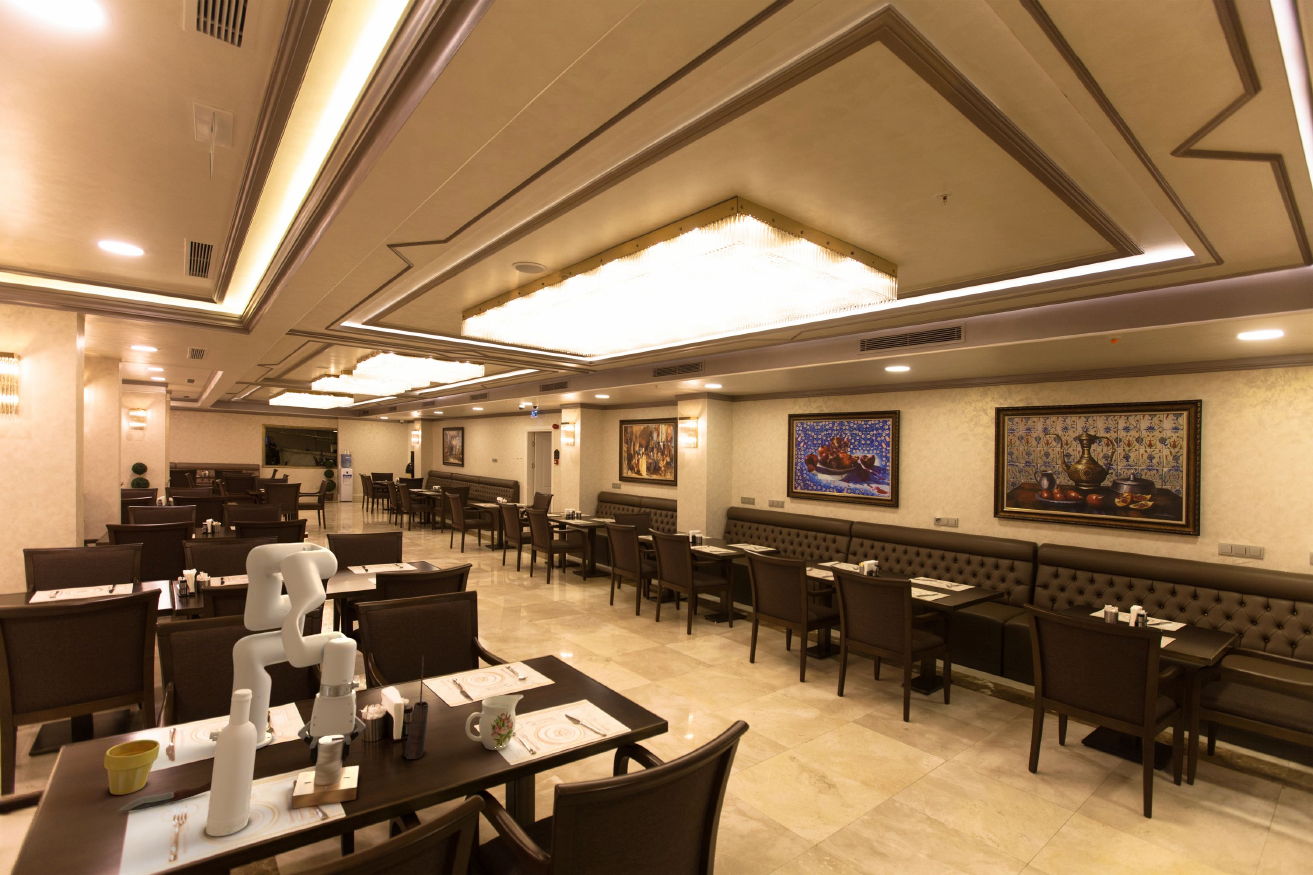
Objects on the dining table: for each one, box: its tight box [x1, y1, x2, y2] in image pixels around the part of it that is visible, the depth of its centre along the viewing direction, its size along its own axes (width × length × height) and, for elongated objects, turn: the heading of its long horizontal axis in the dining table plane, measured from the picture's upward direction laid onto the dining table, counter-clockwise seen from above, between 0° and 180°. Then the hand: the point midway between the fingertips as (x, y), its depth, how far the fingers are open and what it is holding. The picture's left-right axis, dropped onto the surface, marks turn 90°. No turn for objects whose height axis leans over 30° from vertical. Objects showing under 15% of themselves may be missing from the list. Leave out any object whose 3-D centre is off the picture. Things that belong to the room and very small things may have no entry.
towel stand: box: [290, 765, 360, 809], centre depth 152 cm, size 14×12×3 cm
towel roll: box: [314, 735, 344, 786], centre depth 153 cm, size 6×6×10 cm
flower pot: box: [103, 739, 161, 796], centre depth 149 cm, size 10×10×10 cm
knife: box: [117, 780, 212, 812], centre depth 143 cm, size 18×2×3 cm, turn 131°
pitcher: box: [465, 694, 524, 751], centre depth 184 cm, size 11×18×14 cm, turn 127°
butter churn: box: [404, 655, 429, 760], centre depth 175 cm, size 9×10×28 cm
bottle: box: [205, 689, 257, 837], centre depth 136 cm, size 8×8×30 cm
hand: (329, 759), depth 153 cm, fingers closed on towel roll, 6 cm apart
